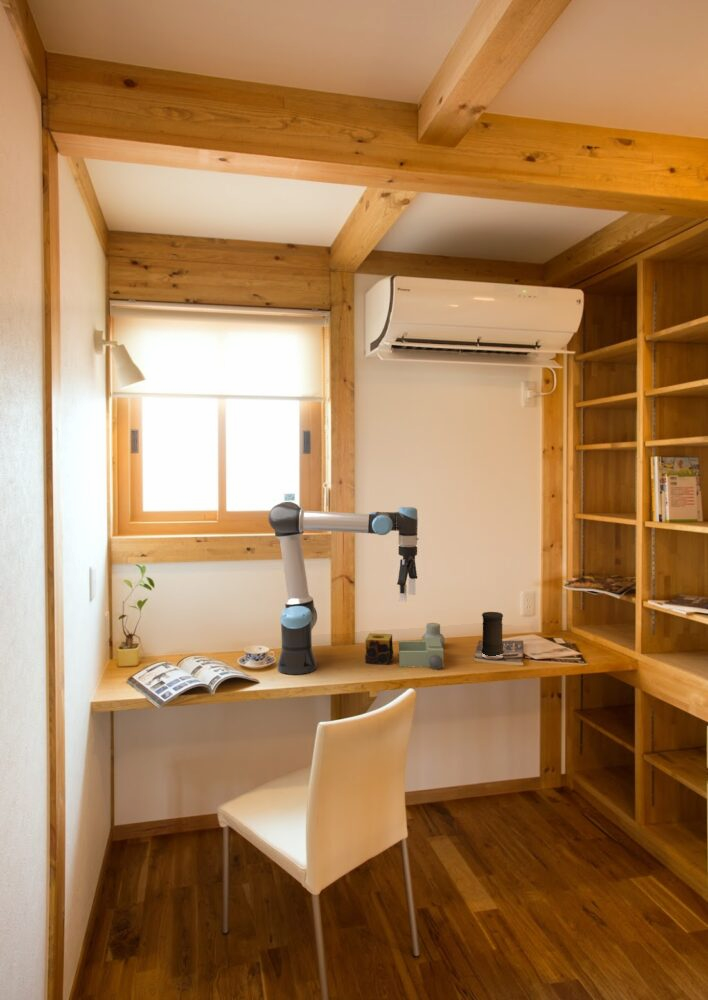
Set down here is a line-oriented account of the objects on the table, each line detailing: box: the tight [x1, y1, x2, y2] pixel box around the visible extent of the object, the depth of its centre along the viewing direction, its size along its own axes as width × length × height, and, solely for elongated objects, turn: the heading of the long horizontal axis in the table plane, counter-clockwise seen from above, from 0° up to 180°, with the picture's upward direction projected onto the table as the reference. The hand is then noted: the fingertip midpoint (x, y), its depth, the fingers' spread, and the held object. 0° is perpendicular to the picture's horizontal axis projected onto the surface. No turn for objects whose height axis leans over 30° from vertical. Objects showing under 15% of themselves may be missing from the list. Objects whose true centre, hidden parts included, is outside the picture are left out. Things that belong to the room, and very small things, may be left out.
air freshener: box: [421, 622, 446, 647], centre depth 281 cm, size 11×8×10 cm
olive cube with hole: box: [364, 632, 394, 666], centre depth 262 cm, size 10×10×10 cm
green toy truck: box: [398, 638, 444, 670], centre depth 261 cm, size 17×22×8 cm
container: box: [481, 611, 505, 656], centre depth 265 cm, size 9×9×18 cm
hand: (407, 597), depth 262 cm, fingers open, 13 cm apart
